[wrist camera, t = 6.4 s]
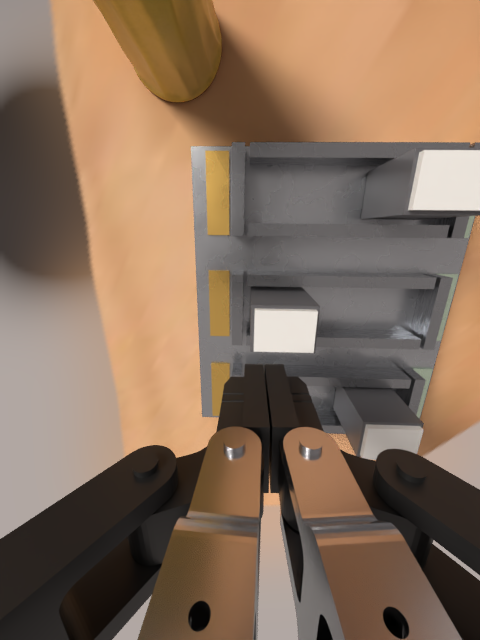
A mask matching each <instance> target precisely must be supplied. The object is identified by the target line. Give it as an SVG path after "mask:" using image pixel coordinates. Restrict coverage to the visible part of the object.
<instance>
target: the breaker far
mask: <svg viewBox="0 0 480 640" xmlns="http://www.w3.org/2000/svg"><path fill="white" fill-rule="evenodd" d="M333 408H334V410H335V412H336V415H337V417H338V419H339V421H340V423H341V425H342V427H343V429H344V431H345V433H346V435H347V438H348V440H349V442H350V444H351V446H352V448H353V450H354V452H355V454H356V456H357V457H361V458H365V459H372V460H376V459H377V456H378V455H379V453H381V452H382V451H384V450H387V449H402V450H407V451H410V452H413V453H415V454H417V452H418V449H419V445H420V442H421V438H422V434H423V431H424V430H423V429H422V428H423V424H424V423H423V422H422V421H421V420H420V419H419V418H418V417H417V416H416V415H415V413H414V412H413V411H412V410H411V409H410V408H409V407H408V406H407V405H406V404H405V402H404V401H403V400H402V399H401V398H400V397H399V396H398V395H397V394H396V393H395V391H394V390H393V389H392V388H369V387H336V392H335V399H334V406H333Z"/></svg>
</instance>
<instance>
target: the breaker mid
mask: <svg viewBox="0 0 480 640" xmlns="http://www.w3.org/2000/svg"><path fill="white" fill-rule="evenodd" d="M319 313H320V306H319V305H318V303H317V302H316V301H315V300H314V299H313V298H312V297H311V296H310V295H309V294H308V293H307V292H306V291H305V290H304V289H303V288H302V287H253V286H251V299H250V352H286V353H315V349H316V340H317V331H318V322H319Z"/></svg>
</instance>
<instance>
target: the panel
mask: <svg viewBox="0 0 480 640" xmlns="http://www.w3.org/2000/svg"><path fill="white" fill-rule="evenodd" d="M414 148H480V143H473V144H470V143H438V142H250V146H245V142H232V146H191V160H192V184H193V208H194V232H195V255H196V279H197V303H198V327H199V350H200V374H201V398H202V417H219V414H220V408H221V402H222V395H223V389H224V384H225V383H226V382H227V380H228V379H229V378H230V377H244V368H245V364H263V367H264V364H284V368H285V372H286V376H287V377H299V378H300V379H301V380H302V381H303V382H304V383H305V384H306V385H307V388H308V391H309V395H310V396H311V399H312V403H313V404H314V407H315V409H316V412H317V415H318V417H319V420H320V423H321V425H322V428H323V431H324V432H325V433H334V434H346V433H345V431H344V429H343V427H342V425H341V423H340V421H339V419H338V417H337V415H336V412H335V410H334V408H333V406H334V399H335V392H336V387H369V388H392V389H393V390H394V391H395V393H396V394H397V395H398V396H399V397H400V398H401V399H402V400H403V401H404V402H405V404H406V405H407V406H408V407H409V408H410V409H411V410H412V411H413V412H414V413H415V415H416V416H417V417H418V418H419V419H420V416H421V413H422V409H423V405H424V402H425V398H426V395H427V391H428V387H429V384H430V380H431V376H432V373H433V369H434V365H435V362H436V358H437V354H438V351H439V347H440V343H441V340H442V336H443V332H444V329H445V325H446V321H447V318H448V314H449V310H450V307H451V303H452V299H453V296H454V292H455V288H456V285H457V281H458V278H459V274H460V270H461V267H462V263H463V259H464V256H465V252H466V248H467V245H468V241H469V237H470V234H471V230H472V226H473V223H474V219H475V216H464V217H450V218H435V219H420V220H402V219H361V214H362V207H363V200H364V193H365V186H366V179H367V172H368V171H370V170H372V169H374V168H376V167H378V166H380V165H382V164H384V163H386V162H388V161H390V160H392V159H394V158H396V157H398V156H400V155H402V154H404V153H406V152H408V151H410V150H412V149H414ZM251 286H253V287H302V288H303V289H304V290H305V291H306V292H307V293H308V294H309V295H310V296H311V297H312V298H313V299H314V300H315V301H316V302H317V303H318V305H319V306H320V313H319V322H318V331H317V340H316V349H315V353H286V352H250V299H251Z"/></svg>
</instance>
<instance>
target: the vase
mask: <svg viewBox="0 0 480 640" xmlns="http://www.w3.org/2000/svg"><path fill="white" fill-rule="evenodd" d="M93 1H94V3H95V4H96V6H97V7H98V9H99V10H100V11H101V13H102V14H103V16H104V18H105V20H106V22H107V23H108V25H109V27H110V29H111V31H112V32H113V34H114V36H115V38H116V39H117V41H118V43H119V45H120V46H121V48H122V50H123V51H124V53H125V54H126V56H127V57H128V59H129V60H130V62H131V63H132V65H133V66H134V69H135V71H136V73H137V75H138V77H139V78H140V80H141V81H142V83H143V84H144V85H145V86H146V87H147V88H148V89H149V90H150V91H151V92H152V93H154V94H155V95H156V96H158V97H160V98H161V99H164V100H166V101H170V102H185V101H189V100H192V99H194V98H196V97H198V96H199V95H201V94H202V93H203V92H204V91H205V90H206V89H207V88H208V87H209V86H210V84H211V83H212V81H213V79H214V77H215V75H216V73H217V70H218V67H219V64H220V59H221V53H222V39H221V32H220V27H219V23H218V19H217V16H216V14H215V11H214V6H213V1H212V0H93Z"/></svg>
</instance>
